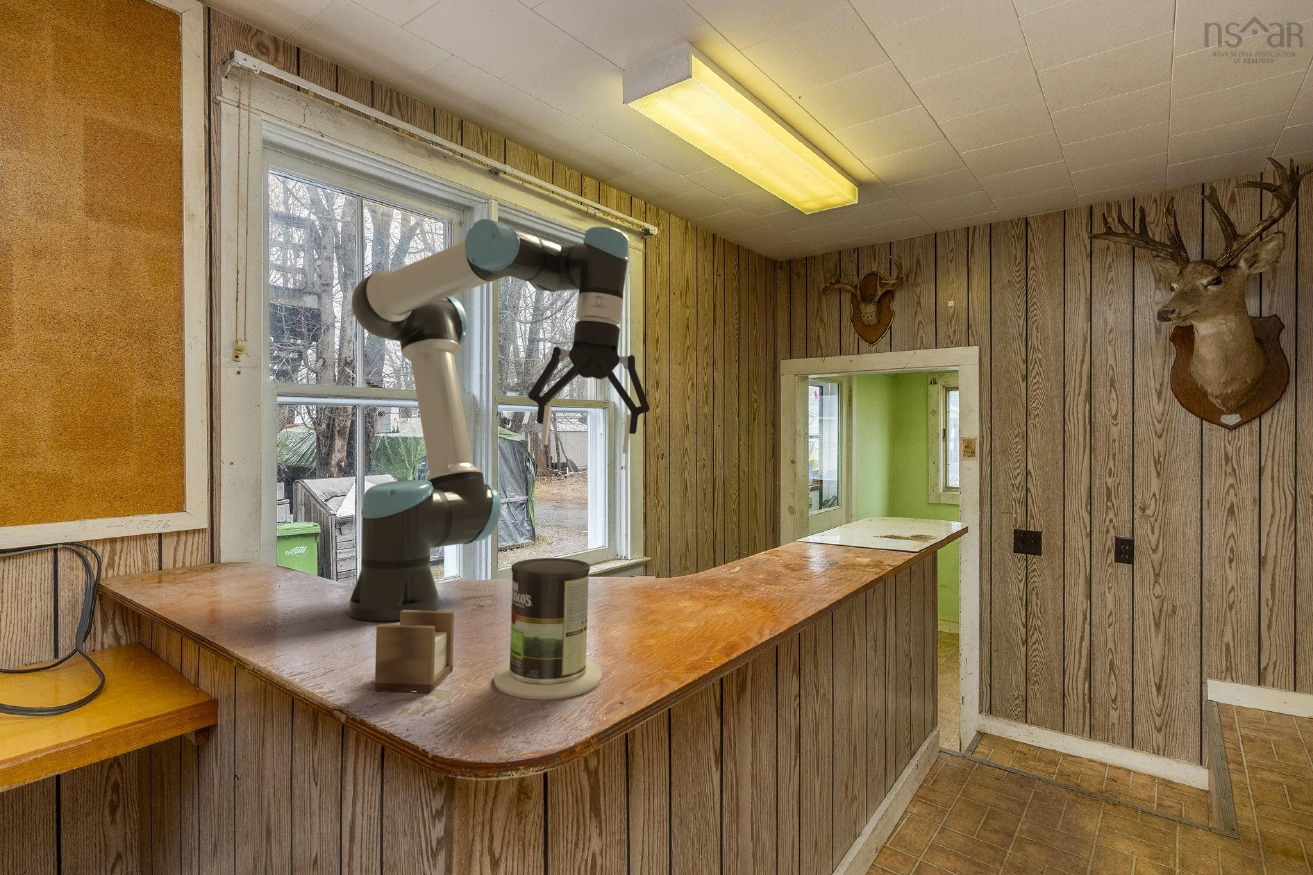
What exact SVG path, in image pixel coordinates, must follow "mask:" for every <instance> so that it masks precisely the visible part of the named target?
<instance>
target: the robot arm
mask: <svg viewBox="0 0 1313 875" xmlns="http://www.w3.org/2000/svg"><path fill="white" fill-rule="evenodd" d="M464 238H465V239H464V241H461V242H460V243H457V244H455V245H453V246H450V247H448V248H445V249H442V250H441V251H438V252H435V253H434V254H431V255H429V256H426V257H424V258H422V259H419V260H417V261H414V262H412V263H410V264H407V265H405V266H403V267H401V268H398V269H395V270H394V271H391V270H386V269H385V270H384V269H383V270H380V271H377V272H374V273H372V274H370V275H367V277H365V278H362V280H360V282H358V284H357V285H356V287H355V288H354V290H353V292H352V297H351V309H352V312H353V315H354V317H355V319H356V321H357V322H358V323H359V325H360V326H361V327H362V328H363V329H365V331H367V332H368V333H370V334H371V335H373V336H375V337H377V338H382V339H386V340H391V341H396V342H399V343H400V348H401V349H400V350H401V354H402V357H403V358H404V359H406V360H408V361H409V362H410V363H411V370H412V375H413V380H414V387H415V393H416V394H415V395H416V400H417V406H418V412H419V417H420V418H419V419H420V423H421V428H422V429H421V431H422V436H423V441H424V448H425V453H426V459H427V465H428V472H429V473H428V475H427V476H426V477H425V479H406V480H395V481H389V482H384V483H383V482H382V483H378V484H375V485H373V486H371V487H369V488H368V489H367V490H365V492H364V495H363V501H362V508H361V518H362V520H361V521H362V523H361V525H362V526H361V563H360V572H359V574H358V577H357V580H356V583H355V585H354V588H353V590H352V593H351V597H350V599H349V603H348V608H349V609H348V615H349V616H350V617H352V618H354V619H357V620H362V621H371V622H391V621H392V622H394V621H400V612H401V611H402V610H424V611H439V608H440V594H439V591H438V588H437V584H436V583H435V579H434V575H433V572H432V569H431V549H432V548H433V549H435V548H440V547H447V546H454V545H468V544H469V545H470V544H471V543H475V542H480V541H484V540H485V539H487V538H488V537H489V536H491V535H492V534H493V532H494V531H495V530H496V527H497V525H499V521H500V517H501V513H502V512H501V511H502V510H501V509H502V505H501V504H502V502H501V499H500V498H501V497H500V494H499V493H498V491H497V490H496V489H495V487H493V486H492V485H490V484H489V483H485V479H484V473H483V471H482V470H481V469H479V468H478V467H476V466H475V465H474V461H473V457H472V456H473V455H472V452H471V450H472V449H471V444H470V439H469V434H468V428H467V421H466V418H465V417H466V416H465V412H464V405H463V400H462V394H461V388H460V384H459V382H460V381H459V377H458V372H457V367H456V360H455V356H456V355H457V354H458V352H459V351H460V349H461V346H460V345H462V343H463V342H464V341H465V338H466V335H467V334H466V332H467V330H468V319H467V318H468V317H467V314H466V312H465V309H464V307H463V305H462V304H461V302H459V300H458V299H456V297H454V296H456V295H459V294H461V293H464V292H467V291H469V290H472V289H474V288H477V287H480V286H482V285H485V284H488V283H491V282H494V281H497V280H500V279H503V278H506V277H511V278H514V279H518V280H520V281H525V282H528V283H529V284H530V285H531V286H532V287H533V288H534V289H535V290H538V291H541V292H550V293H555V292H562V291H575V290H578V297H577V305H576V312H575V314H576V315H575V317H576V319H577V320H578V321H576V322H575V324H574V332H573V342H572V343H573V344H572V348H571V349H570V350H569V349H564V348H560V347H559V346H554V347H553V349H552V352H551V358H550V360H549V361H548V363H547V365H546V366H545V368H544V369H543V371H542V373H541V374H540V376H539V377H538V378H537V380H536V382H535V383H534V385H533V387H532V388H531V389H530V391H529V392H528V395H527V397H528V399H529V400H531V401H532V402H533V401H534V402H535V403H536V404H537V406H538V408H537V415H536V416H537V417H536V422H537V424H538V425H542V429H541V430H542V431H541V440H540V445H543V446H547V445H548V444H549V434H550V425H551V416H552V406H551V405H548V404H549V403H550V402H551V401H552V400H553V398H555V397H556V396H557V395H558V394H559V393H560V392H561V391H562V390H564V389H565V387H567V386H568V385H569V384H570V383H571V382H572V381H573V380H574V379H575V378H576V377H578V375H579V376H580V377H581V378H585V379H591V378H594V379H595V380H604V379H606V378H607V379H608V380H609V381H610V383H611V384H612V386H613V387H614V389H615V391H616V393H618V395H619V396H620V398H621V399H622V401H623V403H624V404H625V405H626V407H627V409H628V410H629V411H630V414H626V417H625V427H624V433H623V434H624V435H623V444H622V454H628V449H629V440H630V434H631V435H636V432H637V429H638V428H637V427H638V419H639V416H640V415H641V414H645V413H646V414H647V413H648V412H649V411H650V409H651V408H650V405H649V402H648V399H647V397H646V395H645V392H644V389H643V386H642V384H641V381H640V379H639V375H638V373H637V370H636V357H635V355H633V354H630V355H628V356H627V355H626V356H625V355H624V356H623V355H621V356H619V352H618V351H619V342H620V340H619V339H620V333H621V329H620V327H619V325H620V324H621V323H622V315H623V307H624V306H623V304H624V289H625V283H626V276H627V269H628V264H629V238H628V236H627V234H625V233H624V232H622V231H620V230H619V229H617V228H613V227H608V226H592V227H590V228H588V229H587V230H586V231H585V234H584V238H583V239H582V241H583V242H582V243H581V244H574V245H573V244H572V245H561V244H558V243H555V242H553V241H550V240H547V239H545V238H542V237H539V236H536V235H534V234H531V233H528V232H526V231H523V230H521V229H518V228H515V227H513V226H511V225H509V224H508V223H505V222H501V221H496V220H493V219H491V218H490V219H489V218H481V219H478V220H477V221H475V222H474V223H473V225H472V227H471V228H469V229H468V230H467V232H466V235H465V237H464ZM465 331H466V332H465ZM567 358H569V360H570V361H571V363H572V365H573V366H571V368H570V369H568V370H567V371H566V373H564V375H563V376H561V377H560V378H559V379H558V380H557V381H556V382H555V383H554V384H553V385H552V386H551V387H550V388H548V389H547V391H546V392H545V393H544V394H542V395H540V394H541V393H542V392H543V390H544V389H545V387H546V386H547V384H548V382H549V381H550V379H551V378H552V376H553V374H554V373H555V372H556V370H557V368H558V366H559V365H560V363H561V362H564V361H565V359H567ZM619 364H622V366H623V369H625V370H627V371H628V374H629V378H630V380H631V383H632V386H633V388H634V391H635V394H636V396H637V399H638V401H639V404H640V406H637V405H636V404H635V403H634V401H633V400H632V398H631V396H630V395H629V394H628V392H627V390H626V389H625V388H624V386H623V385H622V383H621V382H620V381H619V379H618V377H617V375H615V373H614V372H613V370H614V369H615V368H616V367H618V365H619Z"/></svg>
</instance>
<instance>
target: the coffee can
mask: <svg viewBox="0 0 1313 875" xmlns="http://www.w3.org/2000/svg"><path fill="white" fill-rule="evenodd" d="M590 570H591V565H590V564H589V562H586V561H584V560H583V561H582V560H579V559H574V558H573V559H572V558H563V557H540V558H531V559H524V560H520V561H517V562H514V563H513V564H511V573H512V575H511V576H512V577H511V608H510V609H511V612H510V614H511V615H510V644H509V646H510V648H509V649H510V651H509V653H510V654H509V657H510V658H509V661H510V669H509V674H510V676H511V677H513V678H514V679H516V680H518V681H521V682H525V683H530V684H541V685H550V684H560V683H566V682H570V681H573V680H576V679H578V678H580V677H581V676H583V675H584V674H585V672H586V670H587V667H586V658H587V645H588V643H587V641H588V615H589V614H588V613H589V610H588V609H589V582H590V581H589V576H590Z"/></svg>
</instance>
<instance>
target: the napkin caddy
mask: <svg viewBox="0 0 1313 875" xmlns="http://www.w3.org/2000/svg"><path fill="white" fill-rule="evenodd" d="M375 629H376V634H375V639H376V640H375V672H374V673H375V674H374V675H375V676H374V678H375V679H374V691H375V692H390V693H391V692H394V693H395V692H396V693H405V692H404V691H412V692H411V693H414V692H413V691H417V692H416V693H418V692H431V693H432V692H433V691H435V689H436V688H437V687H438V686H439V685H440V684H441V683H442V682H443V681H444V680H445V679H446V678H447V677H448V676H449V675H450V674H451V672H453V670H454V668H453V666H454V665H453V664H454V638H455V637H454V635H455V634H454V629H455V611H452V610H449V611H448V610H437V611H424V610H402V611H401V612H400V620H399V624H389V623H387V624H386V623H385V624H384V623H380V624H378V625H377V626H376V628H375ZM448 674H449V675H448ZM446 676H447V677H446ZM444 678H445V679H444ZM443 679H444V680H443ZM441 681H442V682H441ZM439 683H440V684H439ZM436 686H437V687H436ZM434 688H435V689H434ZM402 691H403V692H402Z"/></svg>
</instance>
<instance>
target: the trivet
mask: <svg viewBox="0 0 1313 875" xmlns="http://www.w3.org/2000/svg"><path fill="white" fill-rule="evenodd" d="M586 667H587V670H586V672H585V674H584V675H583V676H581V677H580V678H578V679H576V680H573V681H570V682H566V683H560V684H550V685H541V684H530V683H525V682H521V681H518V680H516V679H514V678H513V677H511V676H510V674H509V669H510V660H509V661H506V662H505V663H503V664H501V665H500V666H498V667H497V668H496V670H495V671H494V674H493V683H494V686H495V688H496V689H497V690H498V691H499V692H501V693H503V694H506V695H508V696H510V697H514V698H518V699H524V700H534V701H537V700H538V701H540V700H541V701H543V700H544V701H547V700H548V701H549V700H550V701H551V700H560V699H568V698H573V697H577V696H579V695H584V694H586V693H588V692H590V691H591V692H592V691H593V690H594V689H595V688H597V687H598V686H599V685H600V684H601V682H602V672H603V671H602V667H601V666H600V664H598V663H597V662H595V660H594V661H593V660H591V659H590V658H587V657H586Z"/></svg>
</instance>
